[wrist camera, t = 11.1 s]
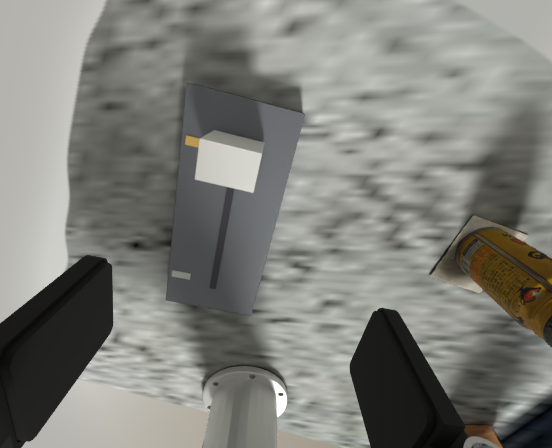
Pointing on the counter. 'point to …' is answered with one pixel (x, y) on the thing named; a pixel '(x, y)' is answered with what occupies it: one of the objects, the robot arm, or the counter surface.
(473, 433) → the whiskey bottle
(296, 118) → the fader panel
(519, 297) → the condiment
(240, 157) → the fader knob
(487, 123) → the counter surface
